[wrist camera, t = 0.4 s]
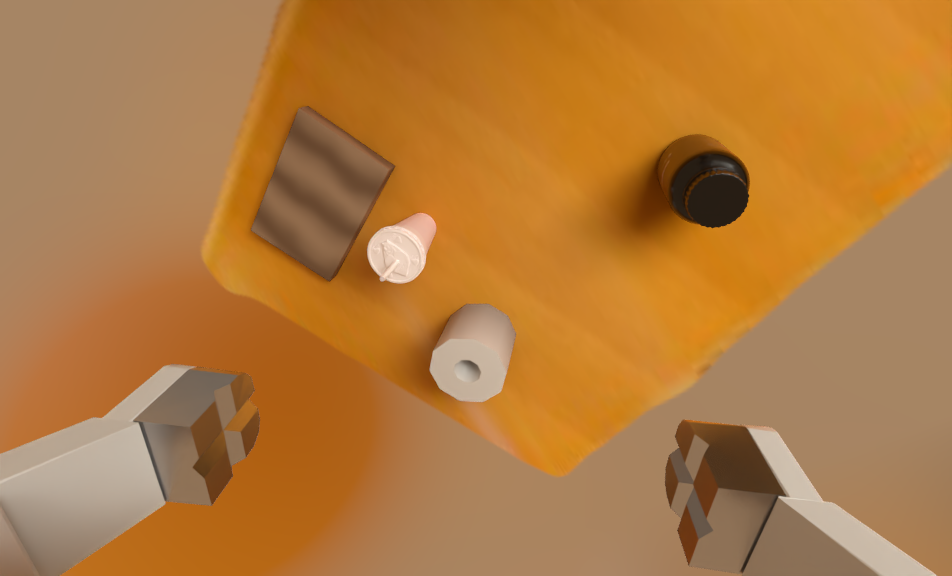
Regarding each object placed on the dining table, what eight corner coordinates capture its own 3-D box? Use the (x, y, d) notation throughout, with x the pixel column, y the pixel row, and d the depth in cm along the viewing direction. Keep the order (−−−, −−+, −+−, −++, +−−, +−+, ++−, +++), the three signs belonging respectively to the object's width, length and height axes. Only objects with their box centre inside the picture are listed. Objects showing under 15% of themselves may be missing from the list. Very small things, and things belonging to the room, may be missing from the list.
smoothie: (414, 258, 62) (372, 311, 49) (387, 215, 60) (336, 259, 48) (456, 238, 59) (422, 289, 47) (429, 192, 57) (386, 233, 45)
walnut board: (308, 106, 56) (298, 108, 54) (395, 166, 57) (388, 169, 55) (259, 225, 64) (250, 230, 62) (336, 275, 65) (329, 281, 64)
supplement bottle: (644, 156, 51) (659, 186, 40) (709, 119, 48) (743, 140, 37) (673, 210, 52) (694, 252, 42) (737, 178, 50) (777, 214, 39)
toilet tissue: (439, 372, 69) (420, 412, 62) (455, 294, 63) (437, 328, 55) (499, 390, 68) (488, 433, 61) (522, 313, 62) (513, 350, 55)
